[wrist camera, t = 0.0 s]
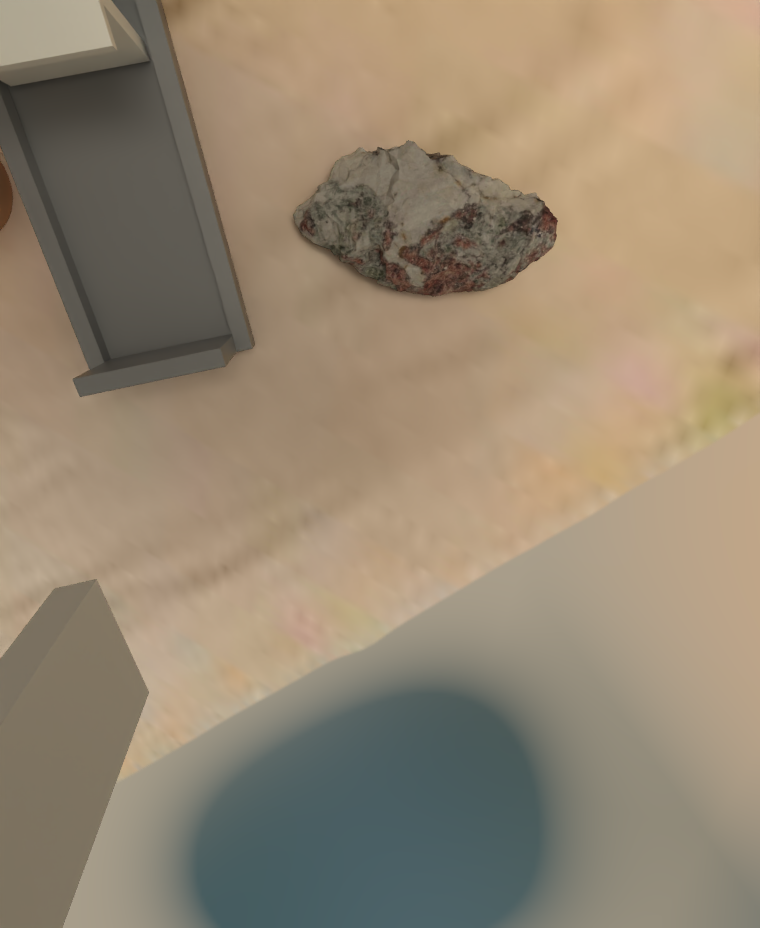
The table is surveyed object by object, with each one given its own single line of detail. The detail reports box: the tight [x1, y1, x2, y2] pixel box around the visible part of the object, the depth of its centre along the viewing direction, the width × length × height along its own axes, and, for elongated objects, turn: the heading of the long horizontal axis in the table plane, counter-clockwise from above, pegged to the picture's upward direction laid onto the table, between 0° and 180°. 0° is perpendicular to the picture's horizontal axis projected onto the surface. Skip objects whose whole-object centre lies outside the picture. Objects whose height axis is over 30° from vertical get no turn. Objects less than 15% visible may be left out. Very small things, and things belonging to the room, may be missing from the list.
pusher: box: [0, 0, 150, 86], centre depth 25 cm, size 2×7×8 cm, turn 101°
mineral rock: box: [293, 140, 558, 297], centre depth 32 cm, size 15×8×4 cm, turn 68°
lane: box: [0, 0, 255, 397], centre depth 28 cm, size 24×10×7 cm, turn 11°
